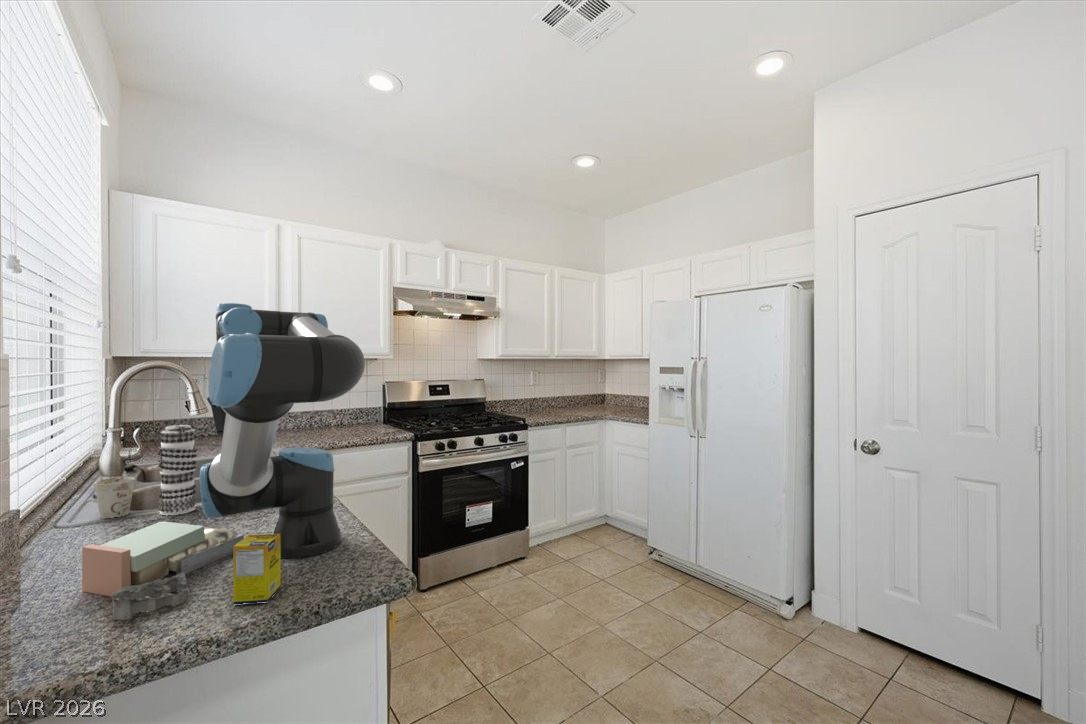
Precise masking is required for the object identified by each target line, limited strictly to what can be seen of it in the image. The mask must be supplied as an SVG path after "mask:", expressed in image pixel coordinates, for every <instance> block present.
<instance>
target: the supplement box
mask: <svg viewBox="0 0 1086 724" xmlns="http://www.w3.org/2000/svg"><path fill="white" fill-rule="evenodd" d="M232 555H233V558H232V561H233V563H232V568H233V569H232V574H233V575H232V577H233V578H232V580H233V583H232V584H233V586H232V588H233V589H232V590H233V593H232V595H233V605H234V604H243V603H257V602H267V601H269V600H270V599H271V598H272V596H273V595H274V594H275V593H276V592H277V591H278V590H279V589H281V588H282V587H281V585H282V584H281V583H282V582H281V576H282V575H281V574H282V573H281V571H282V569H281V567H282V565H281V564H282V563H281V542H280V534H274V533H265V534H264V533H263V534H248V535H246V537H245V536H244V539H243V540H242V541H240V542H239V543H237V544H236V545H235V546H234V547H233V553H232ZM279 591H280V590H279ZM279 591H278V592H279ZM278 592H277V593H278ZM277 593H276V594H277ZM276 594H275V595H276ZM275 595H274V596H275ZM272 599H273V598H272ZM272 599H271V600H272ZM271 600H270V601H271ZM270 601H269V602H270Z"/></svg>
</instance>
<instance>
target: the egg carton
mask: <svg viewBox="0 0 1086 724" xmlns="http://www.w3.org/2000/svg"><path fill="white" fill-rule="evenodd" d="M187 581H188V580H187V578H186V574H184V572H182V573H180V574H178V575H177V574H176V575H172V576H171V577H163V579H162V580H159V579H157V580H155V581H152V582H148V583H144V584H141V585H132V584H131V585H129V586H125V587H123V588H121V589H120V590H118V591H117V592H115V593H114V594H113V597H111V603H110V608H112V620H113V619H115V620H119V619H118V618H121V619H120V620H122V619H124V620H127V619H126V618H128V619H130V618H129V617H131V616H132V615H133V614H135V613H137V614H139V613H138V612H141V613H143V612H142V611H148V612H150V611H153V612H155V611H154V610H156V609H157V608H158V609H160V608H162V607H161V606H163V607H165V606H164V605H167V606H170V605H172V606H171V607H176V606H178V604H179V605H180V604H181V603H182V601H183V602H184V600H185V601H187V600H188V596H187V595H188V590H189V586H188V583H187ZM173 592H176V593H175V594H174V593H173ZM186 599H187V600H186ZM175 605H176V606H175ZM159 607H160V608H159ZM158 609H157V610H158ZM157 610H156V611H157ZM148 612H147V613H148ZM150 613H151V612H150ZM135 615H136V614H135ZM133 616H134V615H133ZM133 616H132V617H133ZM132 617H131V618H132Z"/></svg>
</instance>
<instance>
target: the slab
mask: <svg viewBox="0 0 1086 724" xmlns="http://www.w3.org/2000/svg"><path fill="white" fill-rule="evenodd" d="M204 527H205V526H204V525H197V524H188V523H180V522H179V523H178V522H171V521H170V522H169V521H159V522H156V523H154V524H151V525H147V526H146V527H144V528H141V529H138V530H136V531H133V532H131V533H128V534H126V535H122V536H121V537H118V538H115V539H113V540H110V541H107V542H105V543H102V544H100V545H101V546H108V547H116V548H123V549H130V571H133V572H137V571H139V570H141V569H143V568H146V567H148V566H150V565H152V564H154V563H156V562H158V561H160V560H163V559H165V558H167V557H169V556H171V555H173V554H175V553H178V552H180V551H182V550H184V549H186V548H188V547H190V546H193V545H195V544H197V543H199V542H201V541H203V540H205V529H204Z"/></svg>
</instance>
